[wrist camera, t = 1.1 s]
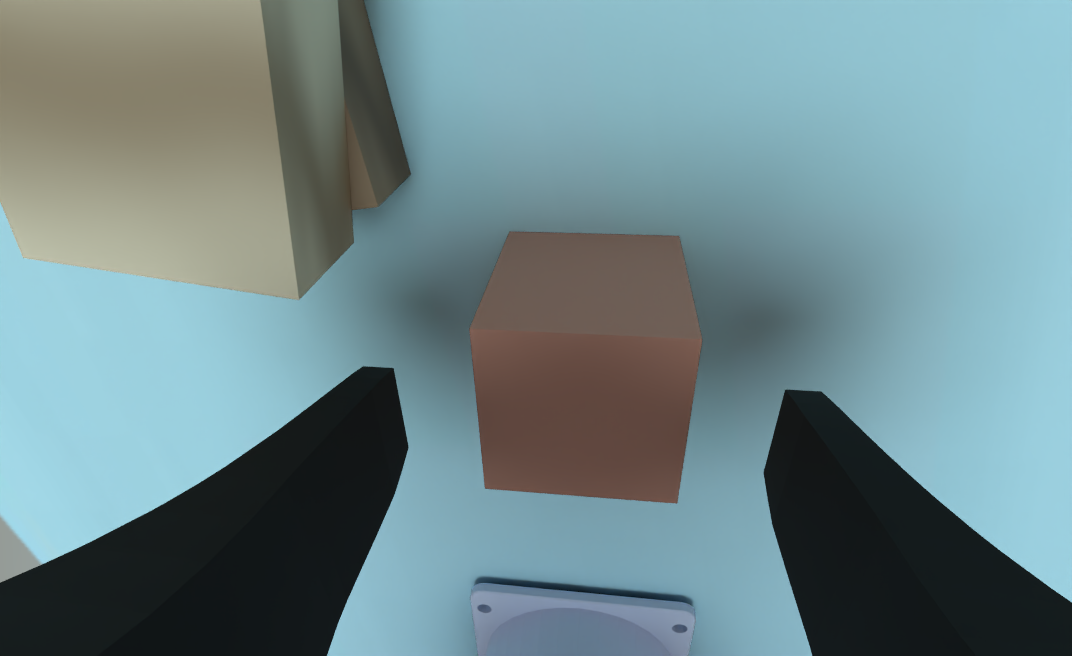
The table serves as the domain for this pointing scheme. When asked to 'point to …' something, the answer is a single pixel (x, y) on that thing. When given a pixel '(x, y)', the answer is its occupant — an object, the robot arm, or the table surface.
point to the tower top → (177, 139)
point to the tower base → (368, 113)
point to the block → (586, 365)
